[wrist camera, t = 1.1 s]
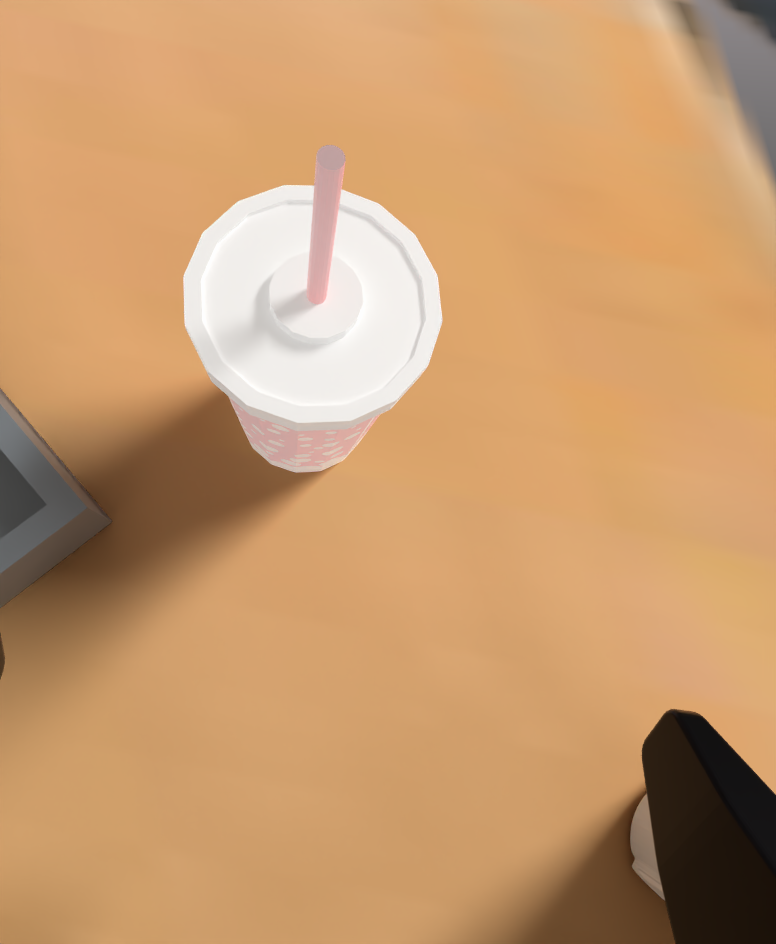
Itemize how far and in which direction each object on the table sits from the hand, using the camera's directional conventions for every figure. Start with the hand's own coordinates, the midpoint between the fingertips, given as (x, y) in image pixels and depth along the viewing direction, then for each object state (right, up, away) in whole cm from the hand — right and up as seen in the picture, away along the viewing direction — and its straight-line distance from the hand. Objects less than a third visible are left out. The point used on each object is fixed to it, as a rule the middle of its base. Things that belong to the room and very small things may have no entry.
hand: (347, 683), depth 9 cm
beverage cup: (-3, +5, +16) cm, 17 cm away
